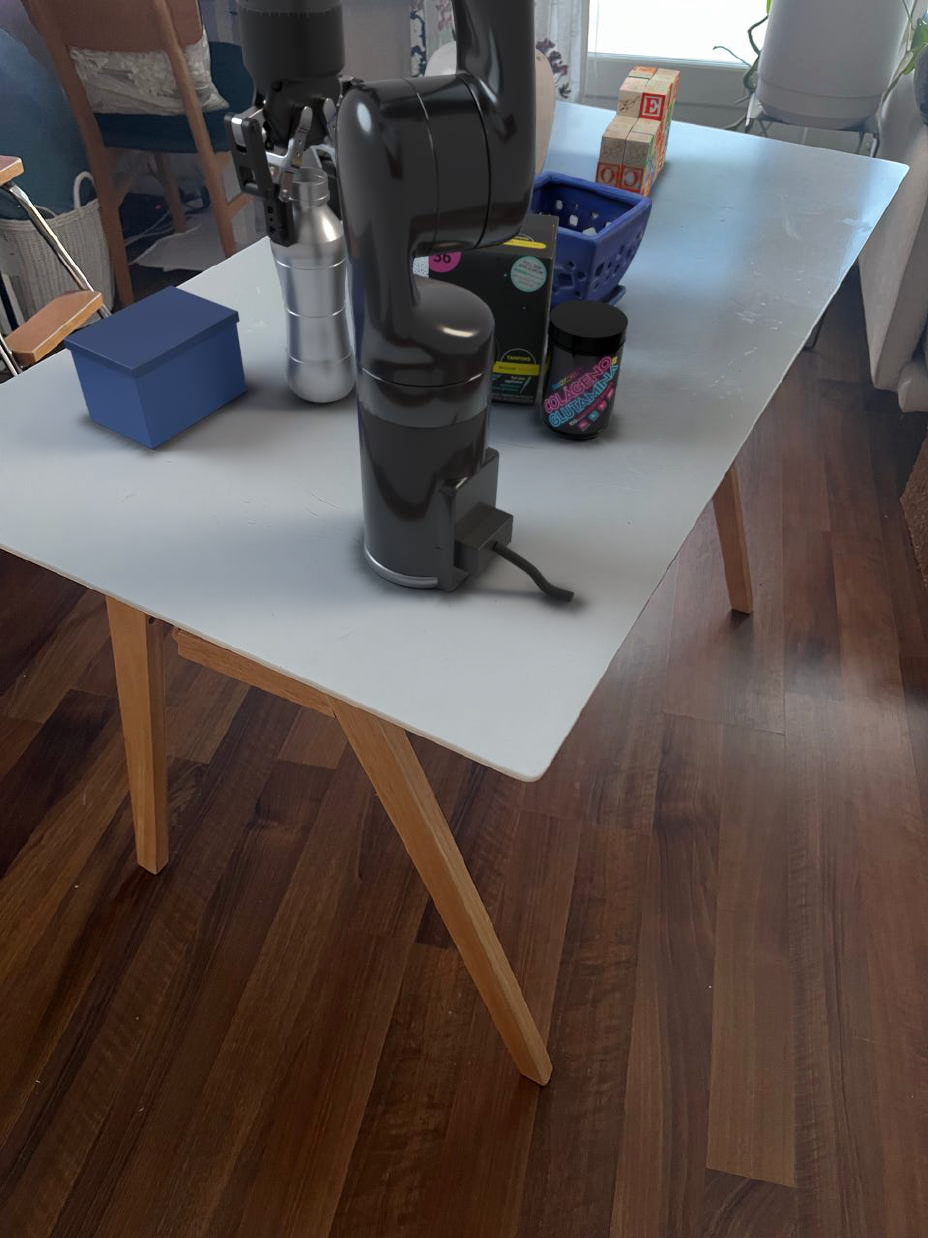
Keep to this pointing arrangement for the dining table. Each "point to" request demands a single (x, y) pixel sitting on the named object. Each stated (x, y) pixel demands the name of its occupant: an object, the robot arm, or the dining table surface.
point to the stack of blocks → (638, 131)
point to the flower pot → (586, 259)
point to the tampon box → (511, 300)
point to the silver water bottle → (315, 294)
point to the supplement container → (582, 368)
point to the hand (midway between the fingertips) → (308, 230)
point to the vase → (545, 93)
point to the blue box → (159, 365)
